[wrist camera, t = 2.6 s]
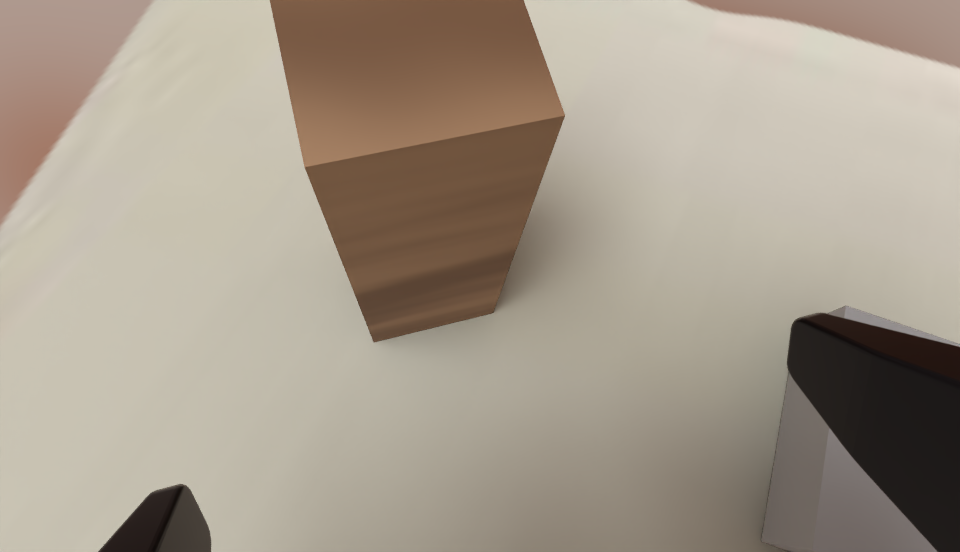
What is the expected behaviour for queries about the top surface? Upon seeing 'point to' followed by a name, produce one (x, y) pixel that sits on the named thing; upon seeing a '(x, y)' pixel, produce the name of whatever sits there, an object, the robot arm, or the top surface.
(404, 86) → the walnut block
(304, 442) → the top surface
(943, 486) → the robot arm
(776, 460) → the plinth
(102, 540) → the top surface
